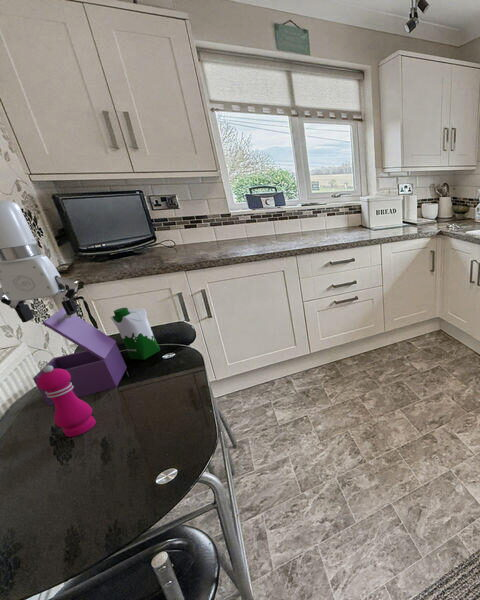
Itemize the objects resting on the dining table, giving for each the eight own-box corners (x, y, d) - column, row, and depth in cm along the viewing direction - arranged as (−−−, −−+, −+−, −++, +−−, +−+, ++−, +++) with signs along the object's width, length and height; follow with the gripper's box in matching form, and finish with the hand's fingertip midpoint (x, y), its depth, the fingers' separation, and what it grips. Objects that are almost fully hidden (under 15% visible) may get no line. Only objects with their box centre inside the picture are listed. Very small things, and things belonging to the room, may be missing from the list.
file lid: (41, 323, 94) (55, 312, 95) (61, 308, 106) (73, 299, 107) (102, 360, 103) (115, 350, 104) (114, 343, 115) (125, 334, 116)
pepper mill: (64, 442, 84) (25, 377, 77) (62, 430, 89) (26, 367, 82) (100, 426, 89) (66, 364, 82) (96, 415, 94) (65, 355, 86)
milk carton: (125, 360, 124) (104, 312, 117) (147, 348, 133) (129, 302, 125) (143, 361, 122) (123, 312, 115) (165, 349, 130) (146, 302, 123)
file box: (48, 405, 100) (32, 378, 97) (66, 383, 112) (52, 358, 108) (116, 386, 107) (104, 360, 104) (126, 367, 119) (116, 343, 115)
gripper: (-41, 261, 75) (-2, 328, 81) (50, 251, 79) (81, 316, 85) (-12, 255, 81) (22, 317, 88) (70, 246, 85) (97, 306, 92)
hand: (51, 316), depth 86 cm, fingers open, 9 cm apart
